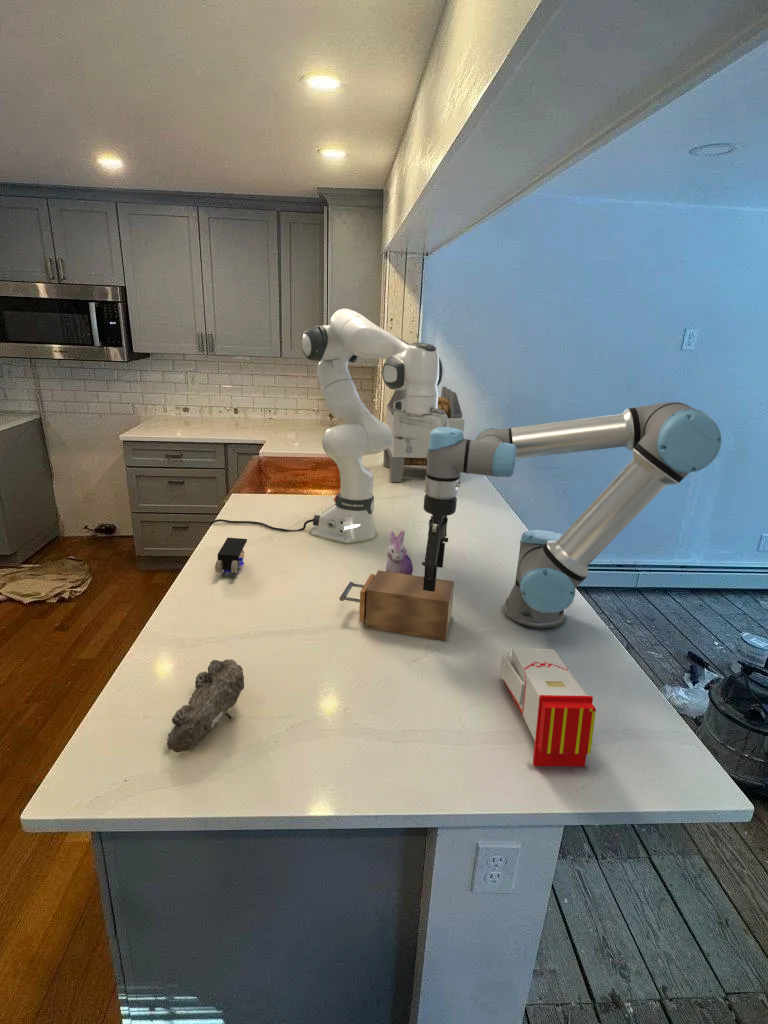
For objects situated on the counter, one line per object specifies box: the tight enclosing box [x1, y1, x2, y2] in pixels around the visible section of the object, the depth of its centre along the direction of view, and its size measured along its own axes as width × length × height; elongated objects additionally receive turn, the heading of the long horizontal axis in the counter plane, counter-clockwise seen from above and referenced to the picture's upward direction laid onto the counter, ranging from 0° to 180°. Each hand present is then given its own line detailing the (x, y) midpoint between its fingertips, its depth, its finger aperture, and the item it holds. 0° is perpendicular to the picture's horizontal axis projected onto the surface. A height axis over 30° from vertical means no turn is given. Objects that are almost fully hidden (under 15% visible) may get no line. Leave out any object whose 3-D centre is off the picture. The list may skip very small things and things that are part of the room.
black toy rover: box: [214, 537, 248, 578], centre depth 166 cm, size 7×8×15 cm
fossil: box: [166, 658, 245, 754], centre depth 106 cm, size 22×10×15 cm
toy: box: [499, 648, 597, 768], centre depth 111 cm, size 12×13×30 cm
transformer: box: [383, 386, 465, 483], centre depth 268 cm, size 34×33×41 cm
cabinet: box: [365, 570, 456, 642], centre depth 142 cm, size 20×11×11 cm, turn 77°
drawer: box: [338, 573, 376, 623], centre depth 143 cm, size 24×10×8 cm, turn 77°
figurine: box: [385, 529, 414, 575], centre depth 164 cm, size 9×10×15 cm
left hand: (419, 456), depth 157 cm, fingers open, 8 cm apart
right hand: (433, 577), depth 138 cm, fingers open, 13 cm apart
